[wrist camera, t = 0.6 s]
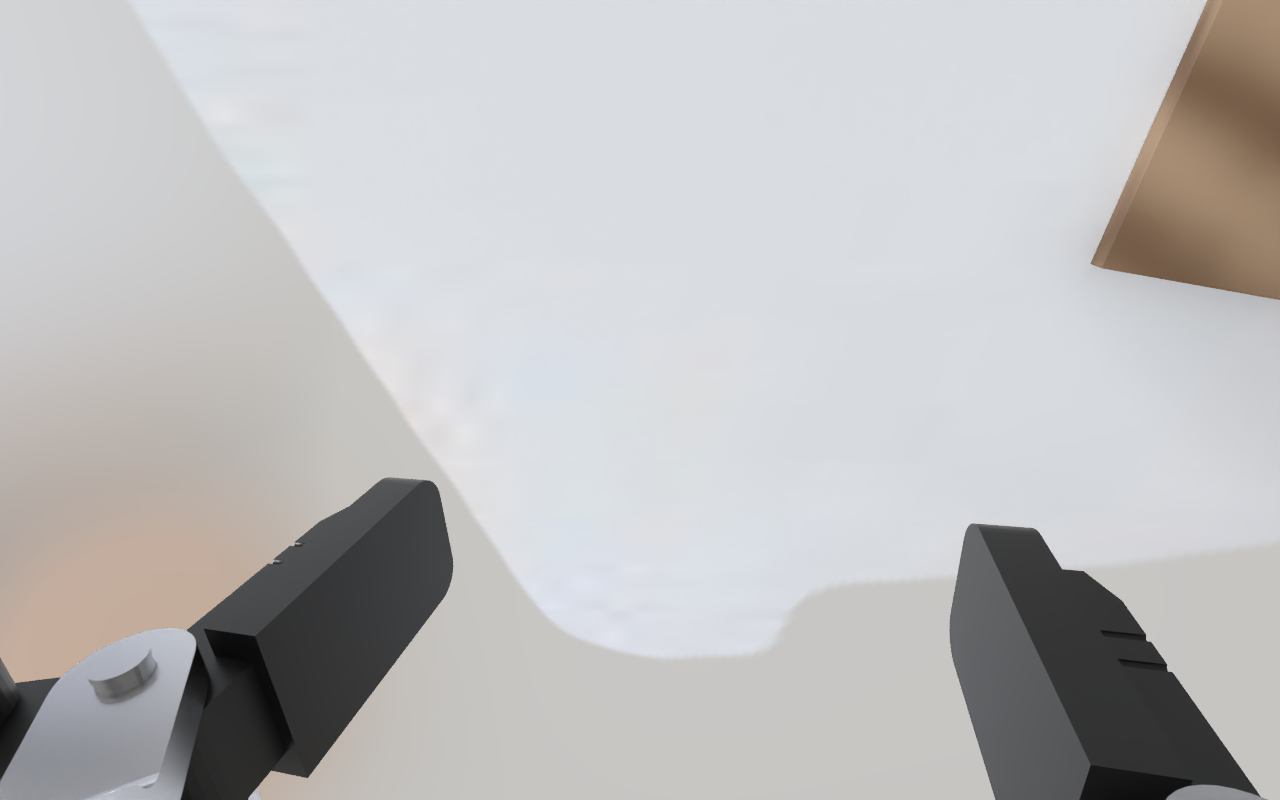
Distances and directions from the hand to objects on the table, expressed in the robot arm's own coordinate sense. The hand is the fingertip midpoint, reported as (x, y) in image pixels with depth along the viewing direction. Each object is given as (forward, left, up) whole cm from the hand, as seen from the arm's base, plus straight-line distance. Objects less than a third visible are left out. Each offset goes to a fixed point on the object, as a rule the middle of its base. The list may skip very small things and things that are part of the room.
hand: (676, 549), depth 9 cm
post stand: (-10, +22, -26) cm, 35 cm away
